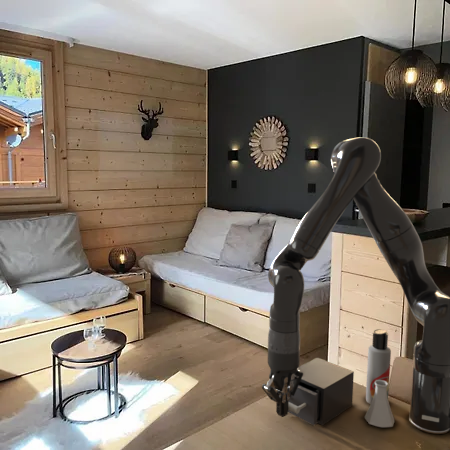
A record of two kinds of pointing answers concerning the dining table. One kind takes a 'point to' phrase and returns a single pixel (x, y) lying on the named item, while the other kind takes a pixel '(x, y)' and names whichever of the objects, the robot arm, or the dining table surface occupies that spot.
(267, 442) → the dining table surface
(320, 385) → the cabinet
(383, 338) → the lotion bottle
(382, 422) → the flask
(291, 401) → the drawer
